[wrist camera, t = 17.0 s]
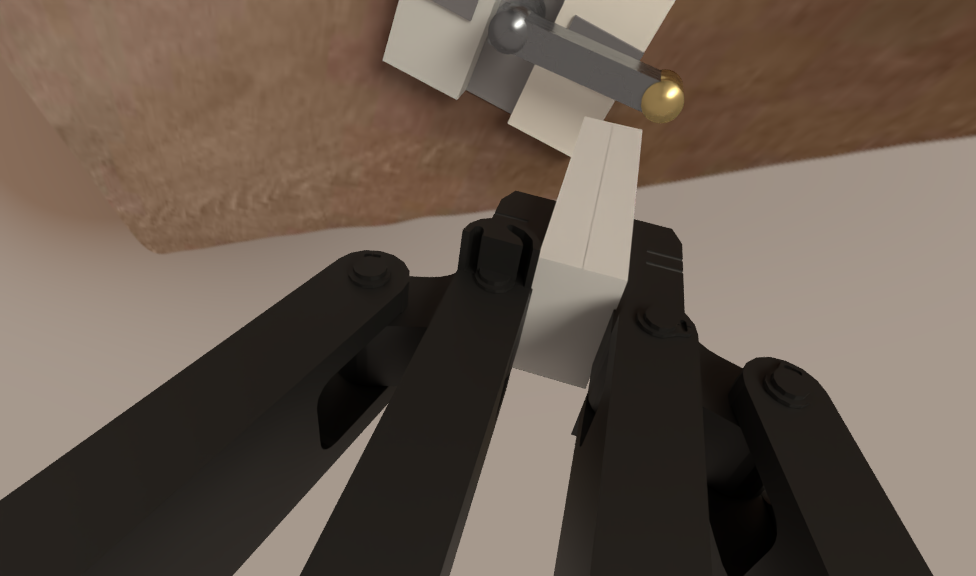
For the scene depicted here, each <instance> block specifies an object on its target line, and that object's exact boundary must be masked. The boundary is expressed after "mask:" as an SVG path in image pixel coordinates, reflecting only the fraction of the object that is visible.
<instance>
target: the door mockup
mask: <svg viewBox="0 0 976 576" xmlns="http://www.w3.org/2000/svg"><path fill="white" fill-rule="evenodd" d="M506 1H507V2H509V3H510V2H511V1H512V0H399V2H398V6H397V9H396V13H395V17H394V20H393V24H392V28H391V31H390V35H389V39H388V42H387V46H386V50H385V53H384V57H383V61H384V62H386V63H388V64H390V65H392V66H394V67H396V68H398V69H400V70H401V71H403V72H405V73H407V74H409V75H411V76H413V77H415V78H417V79H418V80H420V81H422V82H424V83H426V84H428V85H430V86H432V87H433V88H435V89H437V90H439V91H441V92H443V93H445V94H447V95H449V96H450V97H452V98H454V99H456V100H457V99H458V98H459V97H460V96H461V95H462V94H463V93H464V91H465V90H467V91H469V92H471V93H473V94H475V95H476V96H478V97H480V98H482V99H484V100H486V101H488V102H490V103H491V104H493V105H495V106H497V107H499V108H501V109H503V110H505V111H506V112H508V113H510V114H511V117H510V119H509V121H508V124H510V125H511V126H513V127H515V128H517V129H519V130H521V131H523V132H525V133H526V134H528V135H530V136H532V137H534V138H536V139H538V140H540V141H542V142H543V143H545V144H547V145H549V146H551V147H553V148H555V149H557V150H559V151H560V152H562V153H564V154H566V155H568V156H570V157H572V154H573V150H574V147H575V144H576V141H577V138H578V135H579V132H580V129H581V126H582V123H583V120H584V117H589V118H594V119H598V120H602V121H603V120H604V118H605V117H606V115H607V113H608V112H609V110H610V108H611V107H612V105H613V103H614V102H615V100H614V99H612V98H609V97H607V96H605V95H603V94H600V93H598V92H596V91H594V90H591V89H589V88H587V87H585V86H582V85H580V84H578V83H576V82H573V81H571V80H569V79H567V78H565V77H562V76H560V75H558V74H556V73H553V72H551V71H549V70H547V69H544V68H542V67H540V66H538V65H535V64H533V63H531V62H529V61H526V60H524V59H522V58H520V57H518V56H515V55H513V54H509V55H508V54H503V53H500V52H499V51H497V50H496V49H495V48H494V47H493V46H492V45H491V44H488V43H487V41H488V38H489V36H488V28H489V24H490V22H491V20H492V18H493V17H494V16H495V15H496V13H497V10H498V8H499V7H500V6H502V5H503V4H504V3H505V2H506ZM543 1H544V3H545V6H546V16H545V19H547V20H549V21H551V22H554V23H556V24H558V25H560V26H563V27H565V28H567V29H569V30H572V31H574V32H576V33H578V34H580V35H583V36H585V37H587V38H589V39H592V40H594V41H596V42H598V43H601V44H603V45H605V46H607V47H609V48H612V49H614V50H616V51H618V52H621V53H623V54H625V55H627V56H630V57H632V58H634V59H636V60H639V61H640V59H641V58H642V56H643V54H644V52H645V50H646V48H647V47H648V45H649V43H650V42H651V40H652V38H653V37H654V35H655V33H656V32H657V30H658V28H659V27H660V25H661V23H662V22H663V20H664V18H665V17H666V15H667V13H668V12H669V10H670V8H671V7H672V5H673V3H674V2H675V0H543Z"/></svg>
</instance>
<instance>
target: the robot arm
mask: <svg viewBox="0 0 976 576" xmlns="http://www.w3.org/2000/svg"><path fill="white" fill-rule="evenodd" d="M641 139H642V130H640V129H636V128H632V127H627V126H623V125H619V124H615V123H610V122H606V121H602V120H598V119H594V118H589V117H584V120H583V123H582V126H581V129H580V132H579V135H578V138H577V141H576V144H575V147H574V150H573V154H572V157H571V160H570V163H569V166H568V169H567V172H566V175H565V178H564V181H563V184H562V187H561V190H560V193H559V196H558V199H557V201H554V200H550V199H546V198H542V197H538V196H534V195H530V194H526V193H522V192H519V191H515V192H513V193H511V194H510V195H508V196H506V197H505V198H503V199H501V201H500V203H499V205H498V207H497V209H496V211H495V214H494V215H493V217H492V218H487V219H480V220H477V221H474V222H472V223H470V224H469V225H467V226H466V228H464V230H463V232H462V239H461V248H460V255H459V262H458V270H457V272H456V273H454V274H452V275H448V276H443V277H413V276H409V270H408V268H407V266H406V265H405V263H404V262H403V261H401V260H400V259H398V258H397V257H396V256H394V255H391V254H388V253H385V252H381V251H369V250H364V251H359V252H353V253H350V254H348V255H346V256H344V257H341V258H339V259H338V260H336V261H335V262H334V263H332V264H331V265H329V266H328V267H326V268H325V269H324V270H322V271H321V272H320V273H318V274H317V275H315V276H314V277H312V278H311V279H310V280H309V281H307V282H306V283H304V284H303V285H301V286H300V287H299V288H297V289H296V290H294V291H293V292H291V293H290V294H289V295H287V296H286V297H285V298H283V299H282V300H281V301H279V302H277V303H276V304H275V305H273V306H272V307H270V308H269V309H268V310H266V311H265V312H264V313H262V314H261V315H259V316H258V317H256V318H255V319H254V320H252V321H251V322H249V323H248V324H247V325H245V326H244V327H242V328H241V329H240V330H239V331H237V332H235V333H234V334H233V335H231V336H230V337H229V338H227V339H226V340H224V341H223V342H222V343H220V344H219V345H217V346H216V347H214V348H213V349H212V350H210V351H209V352H207V353H206V354H205V355H203V356H202V357H200V358H199V359H198V360H196V361H195V362H194V363H192V364H191V365H189V366H188V367H186V368H185V369H184V370H182V371H181V372H179V373H178V374H177V375H175V376H174V377H172V378H171V379H170V380H168V381H167V382H165V383H164V384H163V385H161V386H160V387H158V388H157V389H156V390H154V391H153V392H151V393H150V394H149V395H147V396H146V397H144V398H143V399H142V400H140V401H139V402H137V403H136V404H135V405H133V406H132V407H130V408H129V409H128V410H126V411H125V412H123V413H122V414H121V415H119V416H118V417H116V418H115V419H114V420H112V421H111V422H109V423H108V424H107V425H105V426H104V427H102V428H101V429H100V430H98V431H97V432H95V433H94V434H93V435H91V436H90V437H88V438H87V439H86V440H84V441H83V442H81V443H80V444H79V445H77V446H76V447H74V448H73V449H72V450H70V451H69V452H67V453H66V454H65V455H63V456H62V457H60V458H59V459H58V460H56V461H55V462H53V463H52V464H51V465H49V466H48V467H47V468H45V469H44V470H42V471H41V472H40V473H38V474H37V475H35V476H34V477H33V478H31V479H30V480H28V481H27V482H25V483H24V484H23V485H21V486H20V487H18V488H17V489H16V490H14V491H13V492H11V493H10V494H9V495H7V496H6V497H4V498H3V499H2V500H0V576H233V574H234V573H235V572H236V571H237V570H238V569H239V568H240V567H241V566H242V565H243V563H244V562H245V561H246V560H247V559H248V558H249V557H250V556H251V554H252V553H253V552H254V551H255V550H256V549H257V548H258V547H259V546H260V545H261V543H262V542H263V541H264V540H265V539H266V538H267V537H268V536H269V535H270V534H271V532H272V531H273V530H274V529H275V528H276V527H277V526H278V524H280V522H281V521H282V520H283V519H284V518H285V517H286V516H287V515H288V514H289V512H290V511H291V510H292V509H293V508H294V507H295V506H296V505H297V504H298V502H299V501H300V500H301V499H302V498H303V497H304V496H305V495H306V494H307V493H308V491H309V490H310V489H311V488H312V487H313V486H314V485H315V484H316V483H317V481H318V480H319V479H320V478H321V477H322V476H323V475H324V473H326V471H327V470H328V469H329V468H330V467H331V466H332V465H333V464H334V463H335V461H336V460H337V459H338V458H339V457H340V456H341V455H342V454H343V453H344V451H345V450H346V449H347V448H348V447H349V446H350V445H351V444H352V443H353V442H354V440H355V439H356V438H357V437H358V436H359V435H360V434H361V433H362V432H363V430H364V429H365V428H366V427H367V426H368V425H369V424H370V423H371V421H372V420H373V419H374V418H375V417H376V416H377V415H378V414H379V413H380V412H381V411H382V409H383V408H384V407H385V406H386V405H387V404H388V405H387V407H386V409H385V411H384V413H383V415H382V417H381V419H380V421H379V423H378V425H377V427H376V429H375V431H374V433H373V434H372V436H371V438H370V440H369V442H368V444H367V446H366V448H365V450H364V452H363V454H362V456H361V458H360V460H359V462H358V464H357V466H356V467H355V469H354V471H353V473H352V475H351V477H350V479H349V481H348V483H347V485H346V487H345V489H344V491H343V493H342V495H341V497H340V499H339V500H338V502H337V505H336V506H335V508H334V510H333V512H332V514H331V516H330V518H329V520H328V522H327V524H326V526H325V528H324V530H323V531H322V533H321V535H320V538H319V539H318V542H317V543H316V545H315V547H314V549H313V551H312V553H311V555H310V557H309V559H308V561H307V563H306V565H305V567H304V568H303V570H302V572H301V574H300V576H449V575H450V572H451V569H452V565H453V562H454V559H455V555H456V552H457V549H458V546H459V543H460V539H461V536H462V532H463V529H464V526H465V523H466V520H467V516H468V513H469V510H470V506H471V503H472V500H473V496H474V493H475V490H476V487H477V483H478V480H479V477H480V474H481V470H482V467H483V464H484V460H485V457H486V454H487V451H488V447H489V444H490V441H491V438H492V434H493V431H494V428H495V424H496V421H497V418H498V415H499V411H500V408H501V405H502V401H503V398H504V395H505V391H506V388H507V384H508V380H509V376H510V372H511V369H512V367H513V368H516V369H519V370H523V371H527V372H530V373H533V374H537V375H540V376H543V377H547V378H550V379H554V380H557V381H560V382H564V383H567V384H571V385H574V386H577V387H581V388H586V386H587V383H588V381H589V378H590V383H589V389H588V393H587V396H586V398H585V401H584V403H583V406H582V408H581V411H580V413H579V416H578V418H577V421H576V423H575V426H574V428H573V431H572V433H571V434H572V435H575V436H576V443H575V449H574V455H573V461H572V467H571V473H570V480H569V486H568V491H567V498H566V504H565V510H564V516H563V522H562V528H561V535H560V540H559V546H558V552H557V558H556V565H555V571H554V576H933V574H932V573H931V571H930V569H929V567H928V566H927V564H926V562H925V561H924V559H923V557H922V555H921V554H920V552H919V550H918V548H917V547H916V545H915V543H914V542H913V540H912V538H911V537H910V535H909V533H908V531H907V530H906V528H905V526H904V525H903V523H902V521H901V519H900V518H899V516H898V514H897V512H896V511H895V509H894V507H893V505H892V504H891V502H890V500H889V499H888V497H887V495H886V493H885V492H884V490H883V488H882V487H881V485H880V483H879V481H878V480H877V478H876V476H875V474H874V473H873V471H872V469H871V468H870V466H869V464H868V462H867V461H866V459H865V457H864V456H863V454H862V452H861V450H860V449H859V447H858V445H857V443H856V442H855V440H854V438H853V437H852V435H851V433H850V432H849V430H848V428H847V426H846V425H845V423H844V421H843V420H842V418H841V416H840V414H839V413H838V411H837V409H836V407H835V406H834V404H833V402H832V401H831V399H830V397H829V395H828V394H827V392H826V391H825V390H824V389H823V387H822V386H821V385H820V384H819V382H818V381H817V380H816V379H814V378H813V377H812V376H811V375H809V374H808V373H807V372H806V371H804V370H803V369H801V368H799V367H797V366H795V365H793V364H791V363H789V362H787V361H784V360H780V359H776V358H772V357H759V358H755V359H753V360H751V361H749V362H747V363H746V365H745V366H744V368H741V367H739V366H737V365H735V364H733V363H731V362H729V361H727V360H725V359H723V358H722V357H720V356H718V355H716V354H715V353H713V352H711V351H709V350H708V349H707V348H706V347H704V346H703V345H702V344H700V343H699V341H698V333H697V330H696V327H695V324H694V323H693V322H692V321H691V320H690V318H689V317H688V316H687V315H686V314H685V311H684V285H683V273H682V272H683V262H682V259H683V258H682V257H683V256H682V243H681V242H680V240H679V239H678V237H677V236H676V234H675V233H674V231H673V230H672V229H670V228H666V227H662V226H658V225H654V224H650V223H647V222H643V221H639V220H635V219H634V211H635V200H636V190H637V180H638V169H639V159H640V149H641Z"/></svg>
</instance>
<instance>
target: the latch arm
mask: <svg viewBox="0 0 976 576" xmlns="http://www.w3.org/2000/svg"><path fill="white" fill-rule="evenodd" d="M545 16H546V6H545V3H544V1H543V0H512V1H511V2H510V3H509V2H507V1H506V2H505V3H504V4H503V5H502V6H500V7H499V8H498V10H497V13H496V15H495V16H494V17H493V18H492V20H491V22H490V24H489V28H488V36H489V38H488V41H487V43H488V44H491V45H492V46H493V47H494V48H495V49H496V50H497V51H499V52H500V53H503V54H508V55H509V54H513V55H515V56H518V57H520V58H522V59H524V60H526V61H529V62H531V63H533V64H535V65H538V66H540V67H542V68H544V69H547V70H549V71H551V72H553V73H556V74H558V75H560V76H562V77H565V78H567V79H569V80H571V81H573V82H576V83H578V84H580V85H582V86H585V87H587V88H589V89H591V90H594V91H596V92H598V93H600V94H603V95H605V96H607V97H609V98H612V99H614V100H616V101H618V102H620V103H623V104H625V105H627V106H629V107H632V108H634V109H636V110H638V111H641V112H643V114H644V115H645V117H646V118H647V119H649V120H650V121H652V122H655V123H666V122H669V121H671V120H673V119H674V118H676V117H677V116H678V115H679V114H680V112H681V110H682V108H683V105H684V93H683V83H682V80H681V78H680V76H679V75H678V74H677V73H675V72H674V71H671V70H666V69H664V70H659V69H656V68H654V67H652V66H650V65H647V64H645V63H643V62H641V61H639V60H636V59H634V58H632V57H630V56H627V55H625V54H623V53H621V52H618V51H616V50H614V49H612V48H609V47H607V46H605V45H603V44H601V43H598V42H596V41H594V40H592V39H589V38H587V37H585V36H583V35H580V34H578V33H576V32H574V31H572V30H569V29H567V28H565V27H563V26H560V25H558V24H556V23H554V22H551V21H549V20H547V19H545Z"/></svg>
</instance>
